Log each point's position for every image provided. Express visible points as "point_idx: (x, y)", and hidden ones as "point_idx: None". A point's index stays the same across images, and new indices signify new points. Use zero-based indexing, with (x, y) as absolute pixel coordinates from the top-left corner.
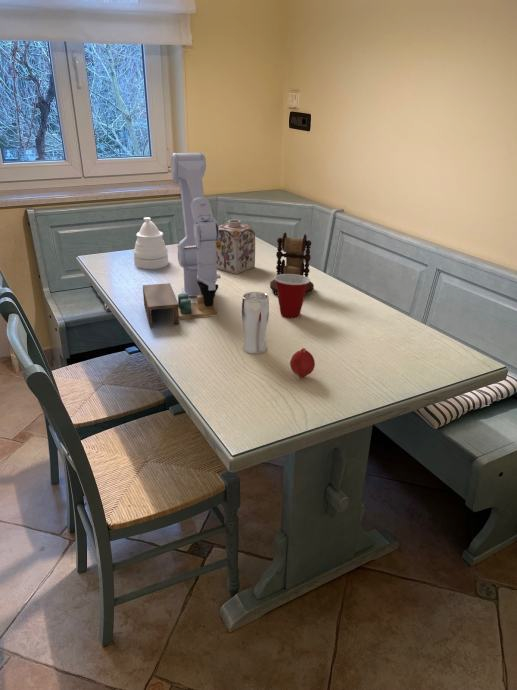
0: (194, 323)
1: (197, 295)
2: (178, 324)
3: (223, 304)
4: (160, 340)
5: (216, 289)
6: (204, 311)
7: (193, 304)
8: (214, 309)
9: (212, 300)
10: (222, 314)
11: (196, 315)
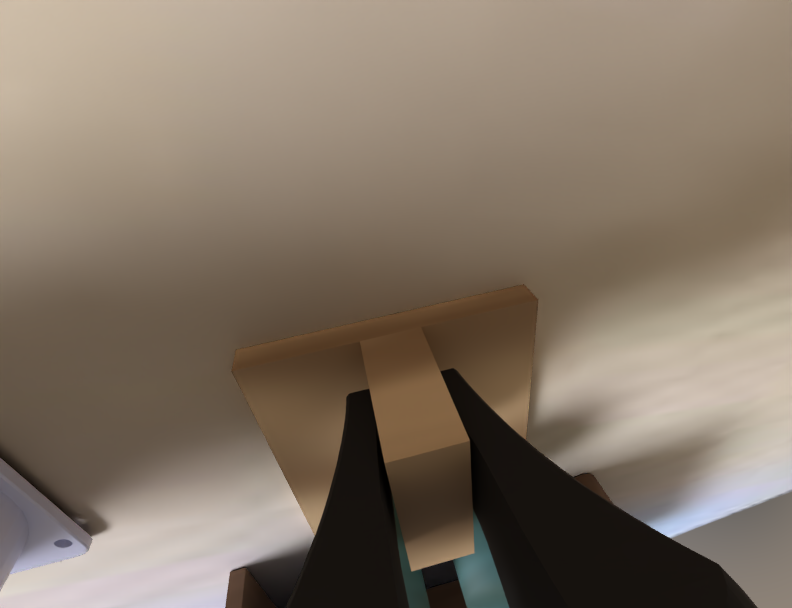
0: (607, 411)
1: (417, 568)
2: (593, 476)
3: (212, 221)
4: (713, 494)
5: (687, 555)
6: (482, 394)
7: (316, 480)
8: (452, 324)
9: (490, 415)
10: (514, 235)
11: (522, 427)
